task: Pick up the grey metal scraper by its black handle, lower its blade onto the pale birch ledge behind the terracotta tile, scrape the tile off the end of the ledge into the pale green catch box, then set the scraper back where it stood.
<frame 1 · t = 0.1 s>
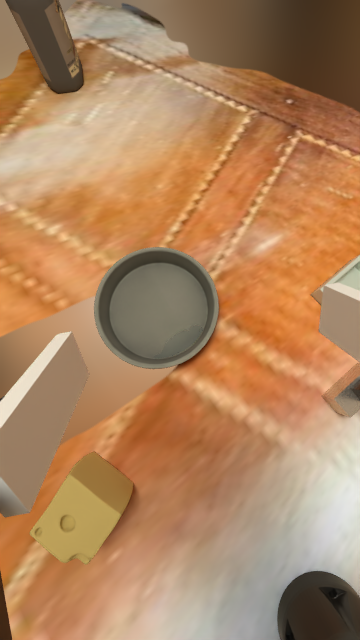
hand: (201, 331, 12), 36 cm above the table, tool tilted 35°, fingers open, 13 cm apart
liquor: (67, 80, 62), on the table
scraper: (346, 387, 45), on the table
catch box: (351, 298, 49), on the table
cheese: (99, 487, 44), on the table
cake pan: (158, 310, 50), on the table
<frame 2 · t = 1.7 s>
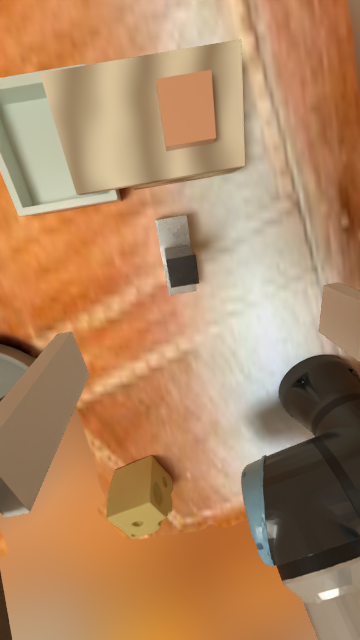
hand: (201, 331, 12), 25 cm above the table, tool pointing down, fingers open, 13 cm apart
scraper: (175, 253, 35), on the table
tile: (185, 117, 24), point 5 cm above the table, touching ledge
ledge: (153, 139, 29), on the table
catch box: (61, 154, 28), on the table
cheese: (142, 471, 55), on the table
cake pan: (0, 390, 43), on the table
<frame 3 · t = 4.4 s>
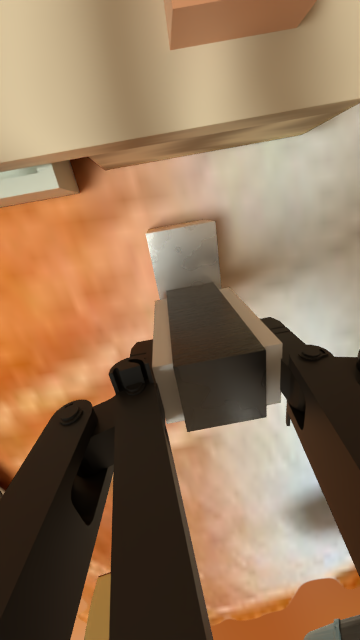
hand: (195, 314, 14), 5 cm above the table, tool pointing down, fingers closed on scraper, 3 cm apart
scraper: (186, 289, 19), on the table, touching gripper
ledge: (139, 54, 13), on the table
cheese: (137, 575, 40), on the table
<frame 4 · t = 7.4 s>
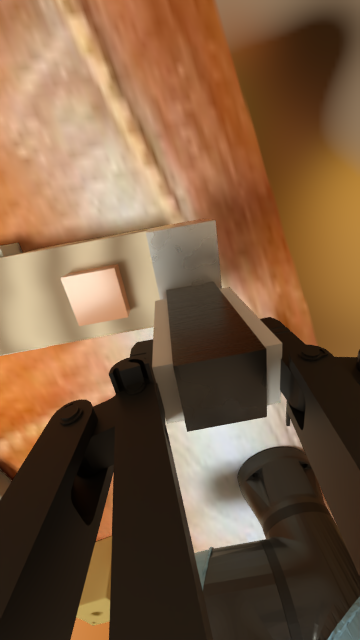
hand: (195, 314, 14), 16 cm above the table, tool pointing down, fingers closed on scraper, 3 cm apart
scraper: (186, 289, 19), point 11 cm above the table, touching gripper
tile: (100, 292, 24), point 5 cm above the table, touching ledge
ledge: (83, 284, 29), on the table
cheese: (108, 547, 55), on the table
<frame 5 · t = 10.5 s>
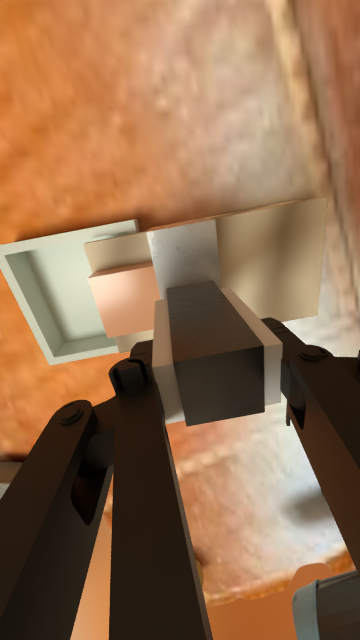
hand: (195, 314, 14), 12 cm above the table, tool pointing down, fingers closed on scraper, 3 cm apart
scraper: (186, 288, 19), point 6 cm above the table, touching gripper
tile: (132, 295, 20), point 6 cm above the table
ledge: (201, 269, 25), on the table
catch box: (96, 289, 25), on the table
cake pan: (20, 500, 39), on the table
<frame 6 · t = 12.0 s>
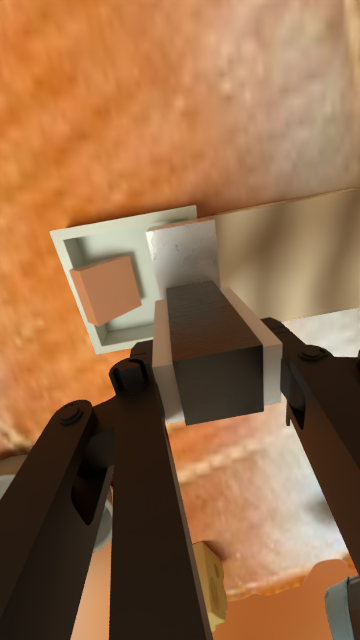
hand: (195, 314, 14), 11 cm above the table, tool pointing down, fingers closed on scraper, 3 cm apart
scraper: (186, 288, 19), point 6 cm above the table, touching gripper
tile: (114, 290, 21), point 4 cm above the table, tilted 137°, touching catch box
ledge: (249, 259, 24), on the table
catch box: (142, 278, 24), on the table
cheese: (190, 554, 52), on the table
cake pan: (47, 493, 39), on the table
when the fingers open (6 cm above the table, at t = 16.9 s): scraper stays where it is, on the table.
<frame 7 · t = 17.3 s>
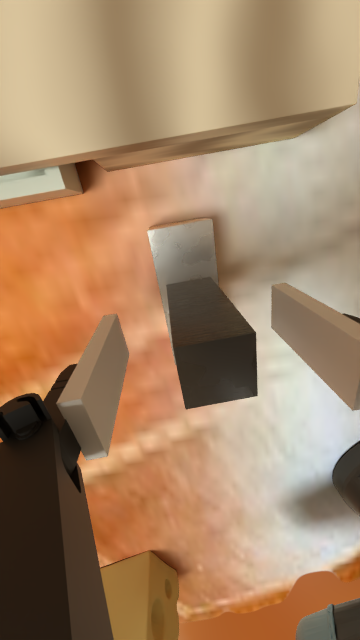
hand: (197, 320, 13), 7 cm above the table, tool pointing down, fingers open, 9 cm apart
scraper: (185, 285, 20), on the table
ledge: (141, 62, 14), on the table
cheese: (138, 567, 41), on the table
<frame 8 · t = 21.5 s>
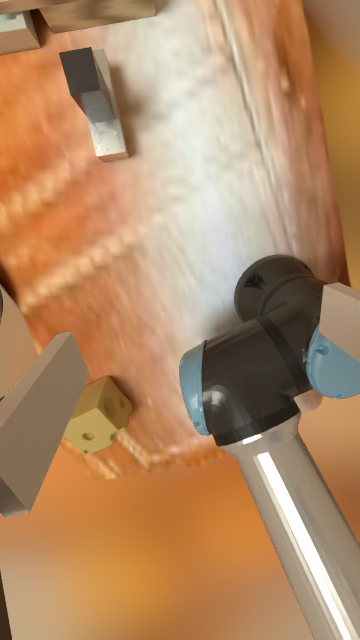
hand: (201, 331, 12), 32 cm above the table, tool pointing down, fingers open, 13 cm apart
scraper: (106, 118, 33), on the table
cheese: (101, 396, 54), on the table
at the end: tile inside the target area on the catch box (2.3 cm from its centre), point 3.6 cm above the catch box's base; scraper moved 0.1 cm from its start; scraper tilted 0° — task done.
